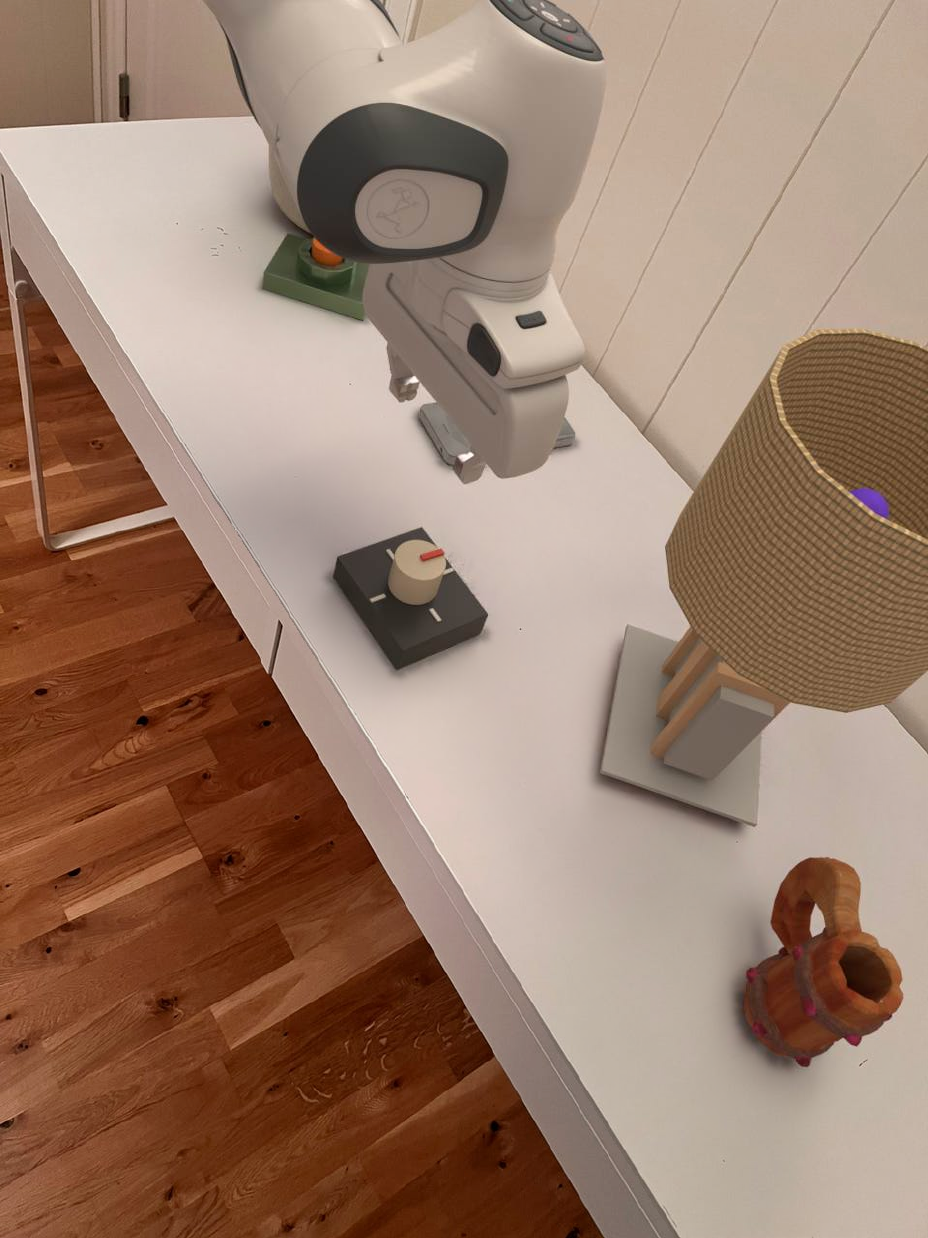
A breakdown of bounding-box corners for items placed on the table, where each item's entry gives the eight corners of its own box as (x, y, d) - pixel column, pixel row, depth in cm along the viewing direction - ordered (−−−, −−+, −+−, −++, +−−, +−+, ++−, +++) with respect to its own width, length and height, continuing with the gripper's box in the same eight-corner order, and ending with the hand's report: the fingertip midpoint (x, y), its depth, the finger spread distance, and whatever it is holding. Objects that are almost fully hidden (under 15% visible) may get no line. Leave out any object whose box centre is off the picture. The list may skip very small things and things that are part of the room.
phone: (575, 445, 99) (578, 436, 98) (446, 467, 93) (449, 458, 92) (541, 396, 103) (544, 387, 102) (415, 413, 96) (417, 404, 95)
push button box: (262, 288, 103) (264, 257, 100) (286, 249, 109) (288, 218, 106) (363, 320, 104) (368, 290, 101) (381, 279, 110) (387, 250, 106)
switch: (307, 259, 102) (309, 245, 101) (316, 244, 104) (318, 230, 103) (338, 269, 102) (340, 255, 101) (346, 253, 105) (348, 240, 103)
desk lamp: (590, 613, 85) (774, 290, 58) (783, 681, 86) (1056, 393, 58) (552, 790, 73) (763, 487, 46) (777, 869, 74) (1119, 616, 46)
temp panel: (332, 577, 81) (337, 555, 78) (415, 547, 85) (422, 525, 83) (396, 670, 76) (403, 650, 74) (480, 634, 81) (489, 613, 78)
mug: (828, 1077, 64) (941, 1037, 55) (741, 1071, 63) (840, 1030, 54) (792, 907, 72) (886, 846, 62) (714, 899, 71) (796, 835, 61)
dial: (403, 611, 77) (411, 583, 74) (379, 573, 78) (386, 545, 75) (446, 596, 79) (456, 569, 76) (422, 559, 80) (430, 531, 77)
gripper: (356, 196, 62) (332, 358, 73) (525, 388, 54) (470, 538, 65) (432, 187, 65) (398, 343, 76) (602, 367, 57) (538, 513, 68)
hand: (432, 434), depth 70 cm, fingers open, 8 cm apart
